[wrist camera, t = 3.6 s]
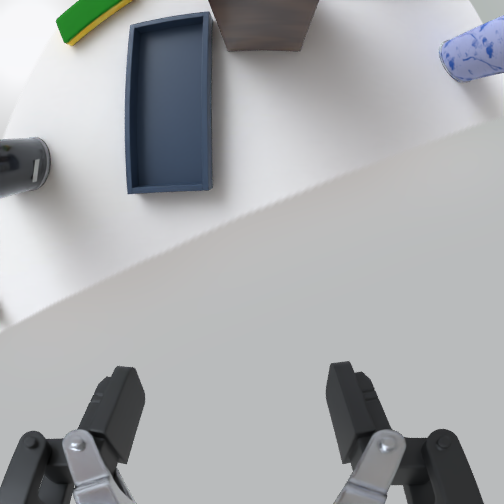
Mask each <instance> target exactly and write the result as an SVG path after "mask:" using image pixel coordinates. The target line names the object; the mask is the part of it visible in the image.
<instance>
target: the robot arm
mask: <svg viewBox="0 0 504 504" xmlns="http://www.w3.org/2000/svg"><path fill="white" fill-rule="evenodd" d="M49 168H50V155H49V151H48V148H47V146H46V144H45V143H44V141H43V140H41V139H40V138H37V137H31V138H19V139H3V140H0V199H1V198H4V197H7V196H11V195H14V194H18V193H22V192H26V191H32V190H36V189H38V188H39V187H41V186H42V185H43V183H44V182H45V180H46V178H47V176H48V173H49ZM326 400H327V404H328V408H329V412H330V416H331V420H332V423H333V427H334V431H335V435H336V439H337V443H338V447H339V451H340V455H341V460H342V464H346V463H351V466H352V469H353V472H352V474H351V476H350V478H349V479H348V481H347V483H346V484H345V486H344V488H343V489H342V491H341V492H340V494H339V496H338V497H337V499H336V500H335V502H334V503H333V504H385V501H386V499H387V492H388V489H389V487H390V485H403V487H404V491H405V495H406V499H407V503H408V504H484V503H483V500H482V498H481V495H480V492H479V489H478V486H477V484H476V481H475V478H474V476H473V473H472V471H471V468H470V466H469V463H468V461H467V459H466V456H465V454H464V451H463V449H462V447H461V444H460V442H459V440H458V438H457V436H456V435H455V434H454V433H453V432H451V431H449V430H446V429H439V430H436V431H434V432H432V433H431V434H430V435H429V437H428V438H406V437H403V436H402V435H401V434H400V433H399V432H397V431H395V430H392V429H391V427H390V425H389V422H388V420H387V417H386V415H385V413H384V410H383V408H382V405H381V403H380V401H379V399H378V396H377V394H376V391H375V390H374V387H373V384H372V382H371V380H370V379H369V378H368V377H367V376H366V375H365V374H364V373H363V372H357V373H354V370H353V368H352V366H351V363H350V362H349V361H347V362H339V363H331V365H330V369H329V375H328V380H327V386H326ZM144 404H145V393H144V390H143V387H142V385H141V382H140V379H139V377H138V375H137V372H136V369H135V368H133V367H122V366H117V367H116V368H115V370H114V372H113V374H112V376H111V377H106V378H105V379H103V381H101V382H100V383H99V384H98V386H97V388H96V390H95V393H94V395H93V397H92V399H91V402H90V403H89V405H88V407H87V410H86V412H85V414H84V416H83V418H82V420H81V423H80V425H79V427H78V429H77V430H73V431H71V432H69V433H68V434H67V435H66V436H65V437H64V438H62V439H45V437H44V436H43V435H42V434H41V433H40V432H37V431H30V432H27V433H25V434H24V435H23V436H22V437H21V439H20V441H19V443H18V445H17V448H16V450H15V452H14V454H13V457H12V459H11V462H10V464H9V466H8V469H7V472H6V474H5V477H4V480H3V482H2V485H1V487H0V504H70V500H71V496H72V493H73V496H74V499H75V501H76V504H137V503H136V502H135V500H134V498H133V497H132V495H131V493H130V491H129V489H128V488H127V486H126V484H125V482H124V480H123V478H122V476H121V474H120V472H119V470H118V469H117V468H116V466H117V463H123V464H127V462H128V458H129V455H130V451H131V448H132V444H133V441H134V437H135V434H136V430H137V427H138V424H139V420H140V417H141V414H142V410H143V407H144ZM43 475H44V476H43ZM42 478H43V479H42ZM41 481H42V482H41ZM40 484H41V485H40ZM74 485H75V488H74ZM38 491H39V492H38Z"/></svg>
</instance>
